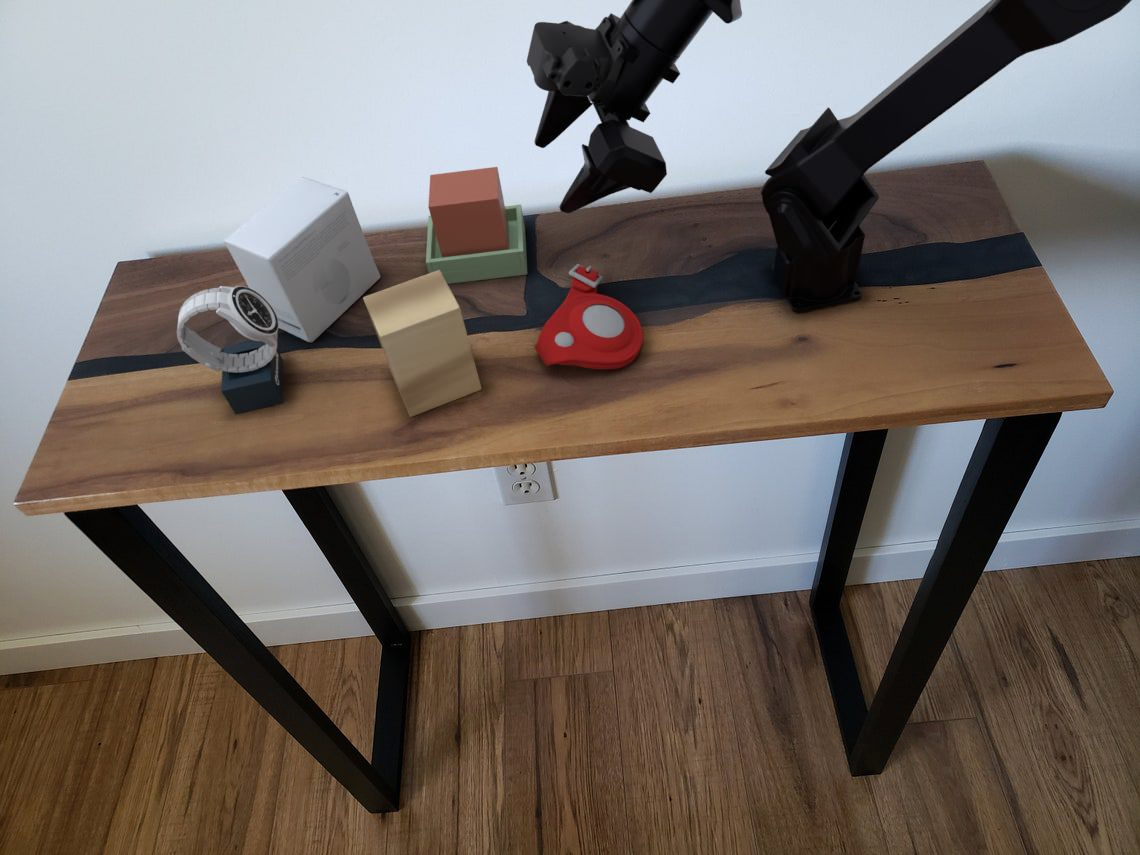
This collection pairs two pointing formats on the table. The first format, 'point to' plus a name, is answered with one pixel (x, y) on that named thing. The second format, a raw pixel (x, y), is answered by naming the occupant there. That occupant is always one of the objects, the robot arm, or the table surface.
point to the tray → (482, 255)
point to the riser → (424, 342)
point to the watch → (238, 346)
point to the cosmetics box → (305, 257)
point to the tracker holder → (590, 328)
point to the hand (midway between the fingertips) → (550, 177)
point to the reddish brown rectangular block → (468, 212)
